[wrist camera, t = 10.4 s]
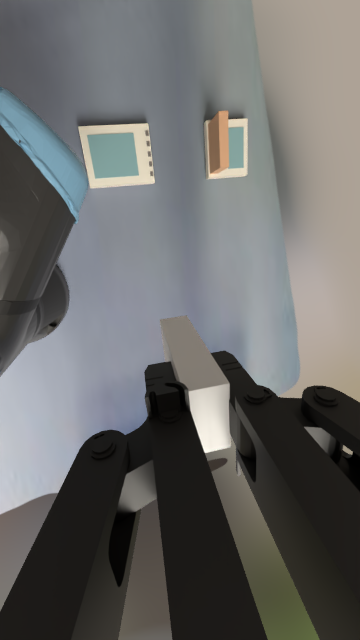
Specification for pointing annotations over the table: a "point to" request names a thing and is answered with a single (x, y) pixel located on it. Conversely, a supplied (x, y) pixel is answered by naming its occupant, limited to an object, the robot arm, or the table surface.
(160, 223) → the table surface
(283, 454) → the robot arm
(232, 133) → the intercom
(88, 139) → the cream tablet with screen
